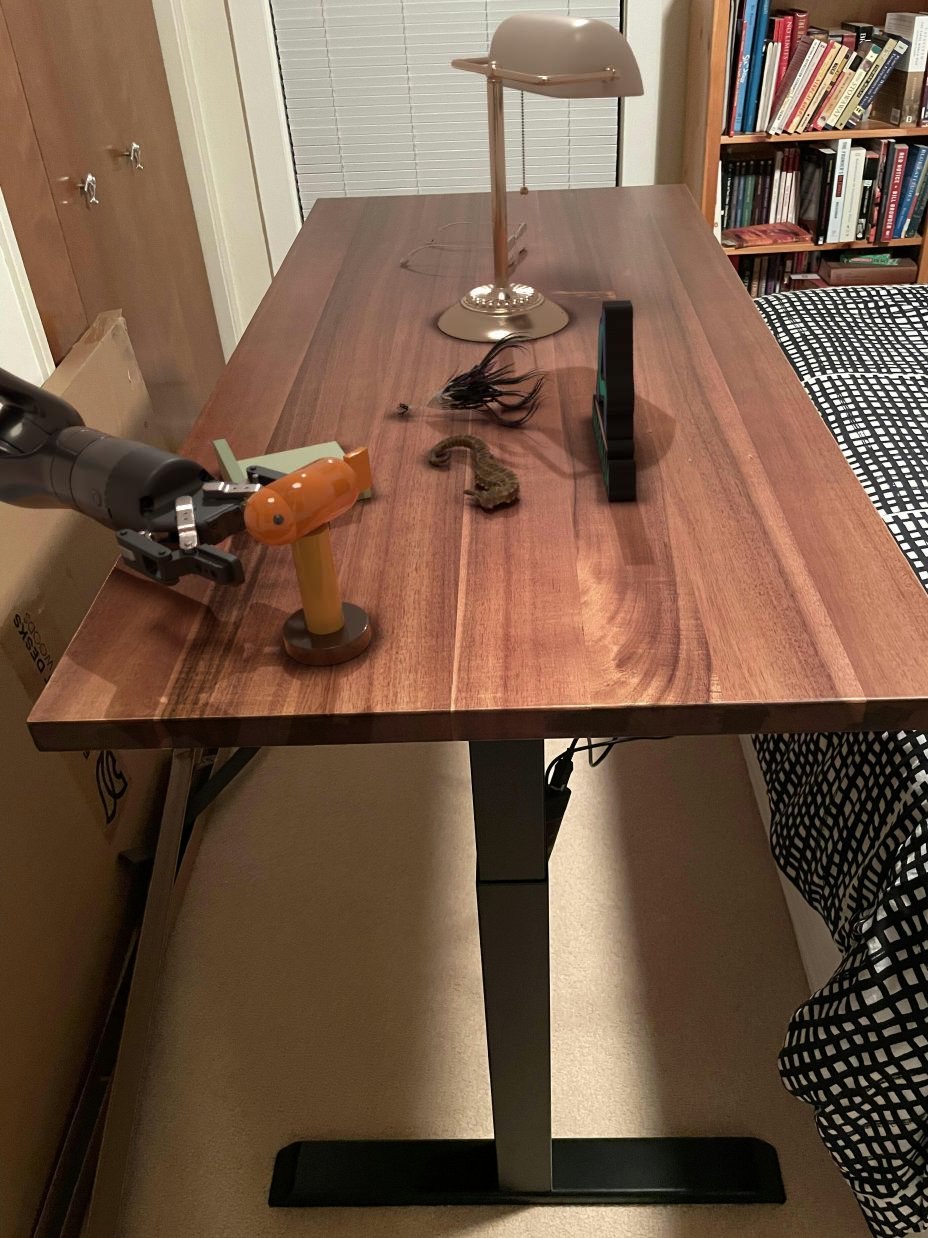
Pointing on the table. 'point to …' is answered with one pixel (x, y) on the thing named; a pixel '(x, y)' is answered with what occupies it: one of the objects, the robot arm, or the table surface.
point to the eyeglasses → (510, 245)
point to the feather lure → (485, 387)
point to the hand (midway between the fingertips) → (284, 547)
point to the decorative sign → (616, 400)
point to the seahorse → (481, 470)
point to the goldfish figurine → (314, 553)
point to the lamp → (541, 64)
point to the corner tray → (275, 461)
